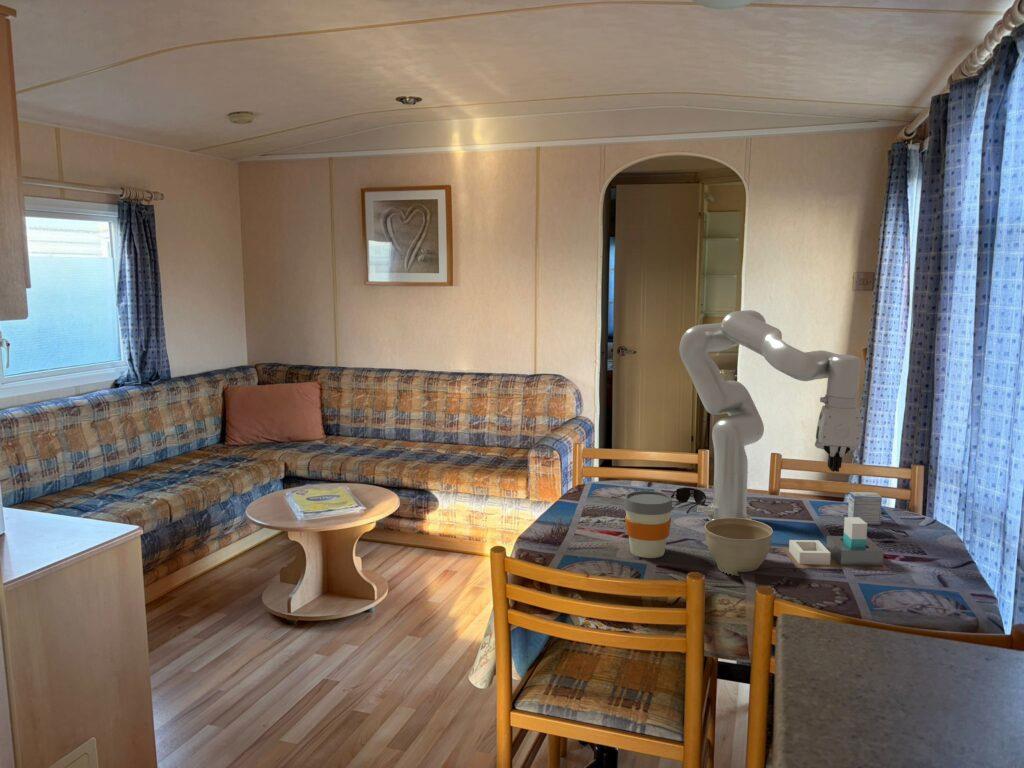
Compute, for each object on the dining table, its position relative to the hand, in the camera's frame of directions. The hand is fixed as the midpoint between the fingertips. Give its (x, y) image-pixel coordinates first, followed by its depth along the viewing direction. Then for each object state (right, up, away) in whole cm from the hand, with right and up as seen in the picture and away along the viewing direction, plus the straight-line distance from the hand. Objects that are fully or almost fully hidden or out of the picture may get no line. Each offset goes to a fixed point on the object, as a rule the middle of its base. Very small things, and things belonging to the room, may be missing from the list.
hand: (833, 470), depth 196 cm
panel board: (-4, -23, -8) cm, 25 cm away
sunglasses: (-30, -17, +40) cm, 52 cm away
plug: (+1, -21, -9) cm, 23 cm away
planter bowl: (-29, -24, -11) cm, 39 cm away
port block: (+1, -21, -9) cm, 23 cm away
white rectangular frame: (-10, -21, -8) cm, 25 cm away
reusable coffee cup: (-49, -22, +1) cm, 54 cm away
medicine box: (+19, -18, +23) cm, 35 cm away
